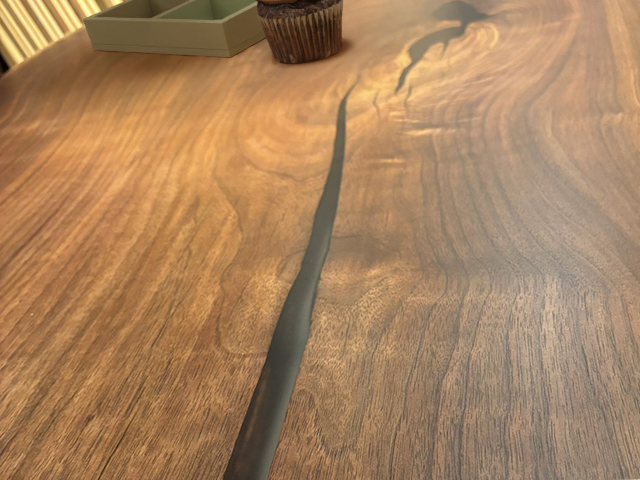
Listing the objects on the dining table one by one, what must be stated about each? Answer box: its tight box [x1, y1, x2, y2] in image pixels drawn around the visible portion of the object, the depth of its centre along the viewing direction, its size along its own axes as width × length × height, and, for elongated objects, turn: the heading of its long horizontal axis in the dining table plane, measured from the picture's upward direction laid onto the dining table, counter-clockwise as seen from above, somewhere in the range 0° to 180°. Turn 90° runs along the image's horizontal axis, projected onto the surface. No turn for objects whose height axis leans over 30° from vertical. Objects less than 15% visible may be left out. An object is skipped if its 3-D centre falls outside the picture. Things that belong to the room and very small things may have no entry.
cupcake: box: [255, 0, 344, 64], centre depth 79 cm, size 10×10×10 cm
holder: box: [82, 0, 266, 58], centre depth 91 cm, size 12×23×4 cm, turn 61°
